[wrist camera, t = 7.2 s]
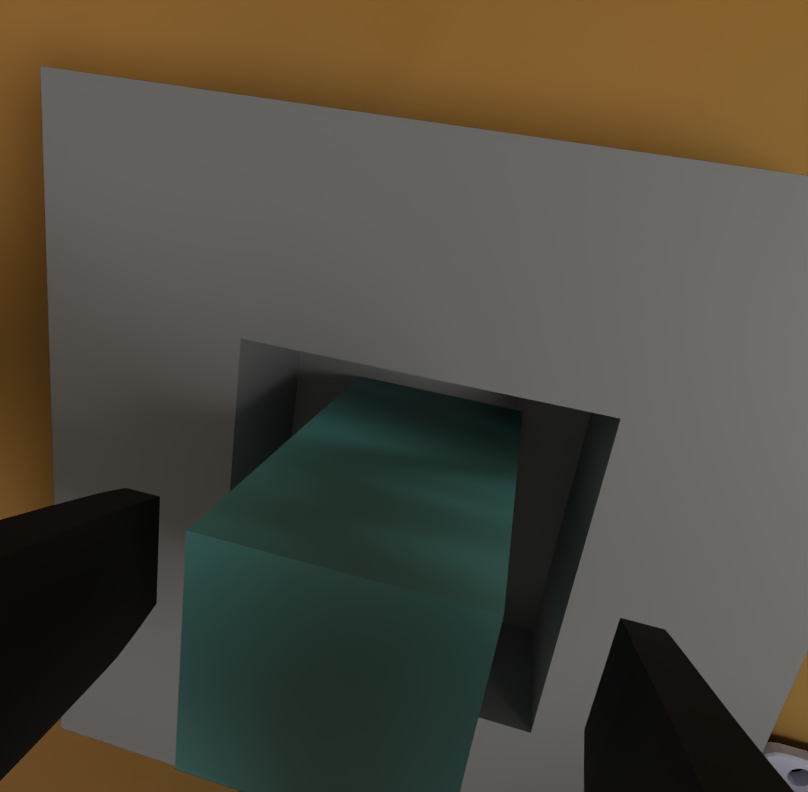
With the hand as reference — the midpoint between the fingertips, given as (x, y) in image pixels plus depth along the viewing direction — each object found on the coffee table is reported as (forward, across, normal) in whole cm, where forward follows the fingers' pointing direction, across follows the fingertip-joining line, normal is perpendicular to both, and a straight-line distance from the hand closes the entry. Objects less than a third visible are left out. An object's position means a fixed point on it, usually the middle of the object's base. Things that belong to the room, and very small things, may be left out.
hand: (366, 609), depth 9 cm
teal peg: (+5, 0, 0) cm, 5 cm away
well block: (+6, 0, 0) cm, 6 cm away
